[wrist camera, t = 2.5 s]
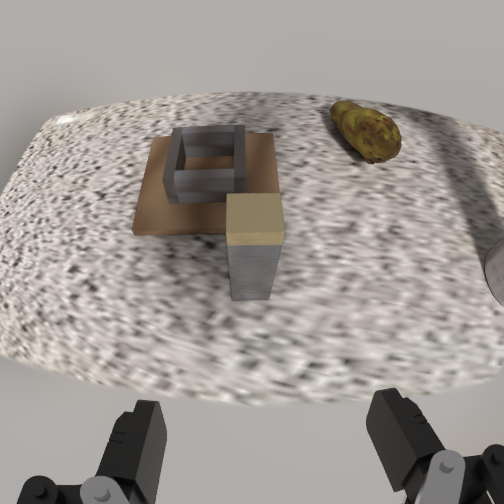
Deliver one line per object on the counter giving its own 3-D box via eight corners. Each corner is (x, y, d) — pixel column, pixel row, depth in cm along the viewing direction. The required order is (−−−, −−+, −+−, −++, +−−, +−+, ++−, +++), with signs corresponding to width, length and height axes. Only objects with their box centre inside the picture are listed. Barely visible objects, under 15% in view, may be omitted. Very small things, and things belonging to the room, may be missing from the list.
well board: (271, 138, 40) (274, 109, 35) (282, 232, 33) (288, 203, 28) (155, 142, 39) (148, 114, 35) (134, 235, 32) (120, 208, 27)
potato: (375, 125, 43) (390, 85, 36) (392, 185, 37) (415, 142, 30) (325, 116, 43) (335, 74, 36) (333, 176, 37) (349, 128, 30)
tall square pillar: (267, 271, 30) (280, 193, 20) (269, 299, 29) (284, 232, 18) (231, 271, 30) (226, 193, 20) (231, 300, 29) (226, 233, 18)
